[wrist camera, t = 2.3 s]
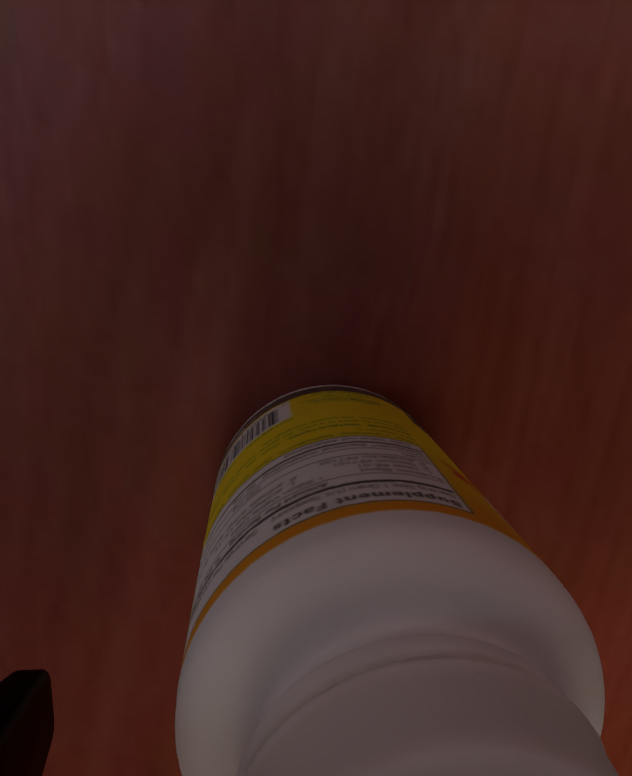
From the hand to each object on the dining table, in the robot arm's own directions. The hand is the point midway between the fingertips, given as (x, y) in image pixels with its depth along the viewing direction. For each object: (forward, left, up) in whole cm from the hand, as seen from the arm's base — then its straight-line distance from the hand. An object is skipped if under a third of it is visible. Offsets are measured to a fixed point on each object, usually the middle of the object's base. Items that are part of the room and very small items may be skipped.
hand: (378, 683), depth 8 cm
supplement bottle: (0, 0, -7) cm, 7 cm away
